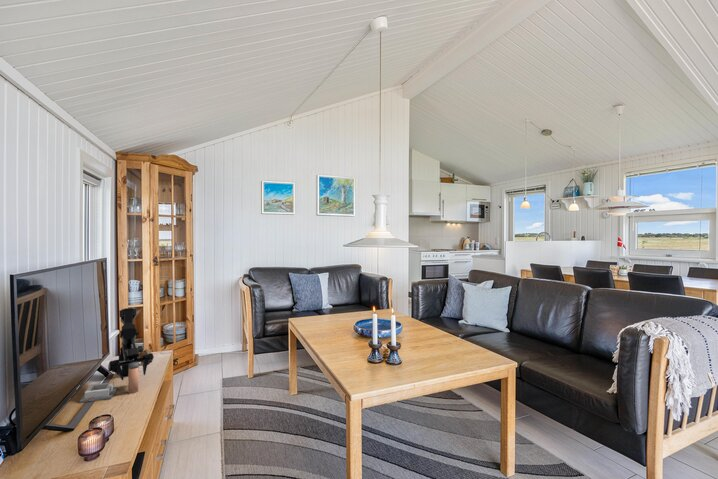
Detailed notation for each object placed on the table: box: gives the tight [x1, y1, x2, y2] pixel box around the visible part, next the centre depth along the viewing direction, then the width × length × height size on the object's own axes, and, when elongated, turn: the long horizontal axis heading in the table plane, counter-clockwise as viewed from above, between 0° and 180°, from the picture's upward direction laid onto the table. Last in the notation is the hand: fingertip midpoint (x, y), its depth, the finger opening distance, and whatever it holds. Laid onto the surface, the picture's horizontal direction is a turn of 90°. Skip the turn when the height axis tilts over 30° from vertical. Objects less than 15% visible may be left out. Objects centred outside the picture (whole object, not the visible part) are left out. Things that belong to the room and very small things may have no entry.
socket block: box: [79, 381, 119, 404], centre depth 169 cm, size 12×12×4 cm
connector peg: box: [127, 362, 140, 394], centre depth 174 cm, size 4×4×14 cm
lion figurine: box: [138, 348, 153, 367], centre depth 209 cm, size 15×5×9 cm, turn 94°
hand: (134, 377), depth 173 cm, fingers open, 9 cm apart
